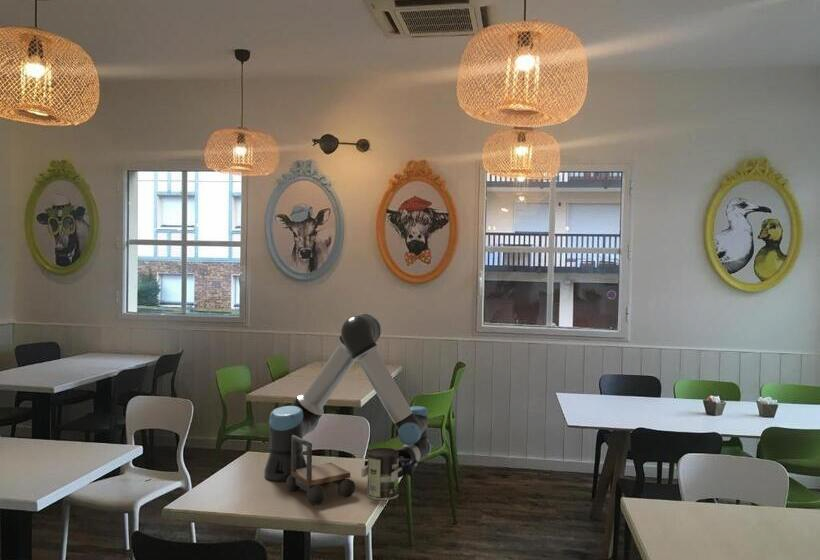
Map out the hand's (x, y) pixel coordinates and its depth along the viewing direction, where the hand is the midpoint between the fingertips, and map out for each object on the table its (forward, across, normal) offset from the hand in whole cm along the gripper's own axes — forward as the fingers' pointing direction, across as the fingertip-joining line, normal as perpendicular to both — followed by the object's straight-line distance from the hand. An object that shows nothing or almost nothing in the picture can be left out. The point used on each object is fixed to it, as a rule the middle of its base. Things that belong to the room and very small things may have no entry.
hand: (377, 475), depth 204 cm
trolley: (+3, +19, -8) cm, 21 cm away
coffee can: (-4, 0, -8) cm, 9 cm away
